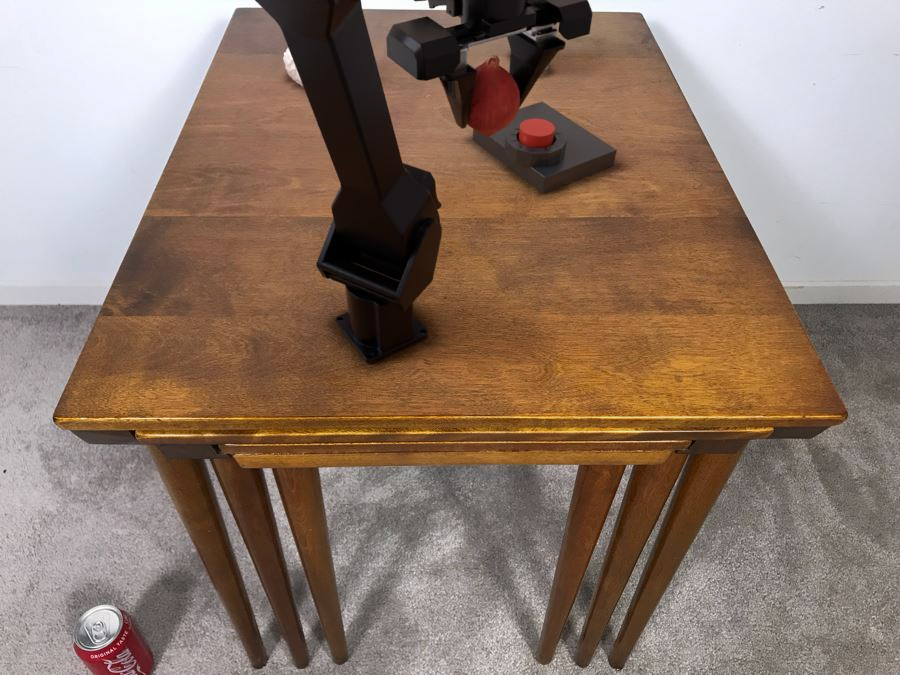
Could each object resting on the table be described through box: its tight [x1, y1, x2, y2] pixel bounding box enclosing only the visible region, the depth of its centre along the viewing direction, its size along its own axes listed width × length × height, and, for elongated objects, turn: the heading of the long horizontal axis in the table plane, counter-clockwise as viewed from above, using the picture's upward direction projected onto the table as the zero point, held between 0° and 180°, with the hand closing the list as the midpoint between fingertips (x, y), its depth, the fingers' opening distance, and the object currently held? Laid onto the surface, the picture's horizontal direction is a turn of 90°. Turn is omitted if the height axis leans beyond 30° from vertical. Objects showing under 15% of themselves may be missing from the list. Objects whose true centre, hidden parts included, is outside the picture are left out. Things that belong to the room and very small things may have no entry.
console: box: [472, 101, 618, 194], centre depth 86 cm, size 14×12×4 cm
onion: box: [466, 54, 520, 136], centre depth 68 cm, size 6×6×8 cm
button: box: [519, 119, 555, 148], centre depth 82 cm, size 4×4×2 cm
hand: (487, 117), depth 69 cm, fingers closed on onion, 6 cm apart
